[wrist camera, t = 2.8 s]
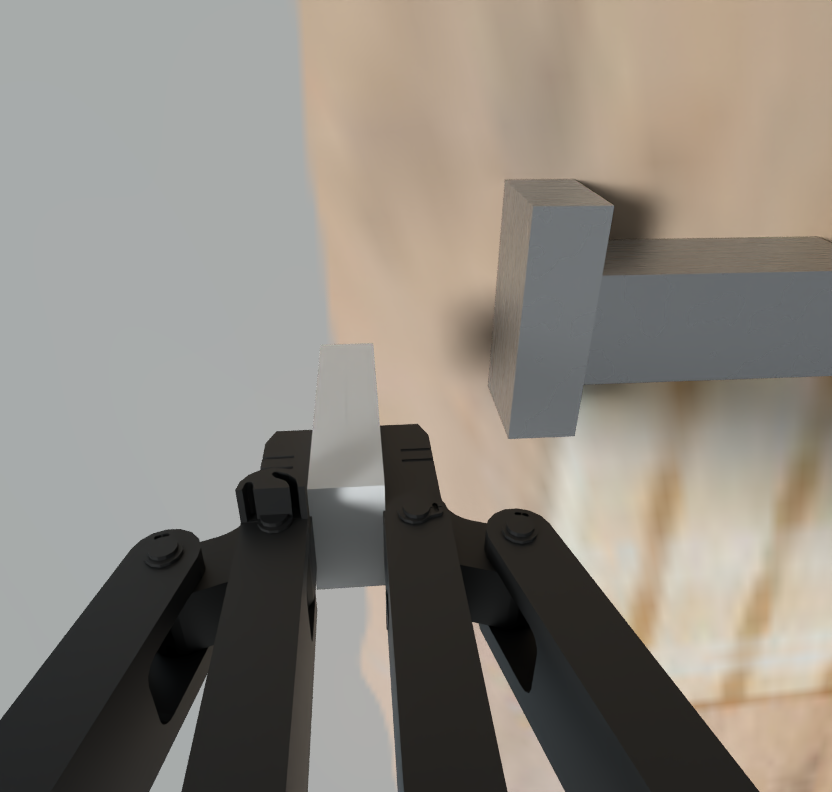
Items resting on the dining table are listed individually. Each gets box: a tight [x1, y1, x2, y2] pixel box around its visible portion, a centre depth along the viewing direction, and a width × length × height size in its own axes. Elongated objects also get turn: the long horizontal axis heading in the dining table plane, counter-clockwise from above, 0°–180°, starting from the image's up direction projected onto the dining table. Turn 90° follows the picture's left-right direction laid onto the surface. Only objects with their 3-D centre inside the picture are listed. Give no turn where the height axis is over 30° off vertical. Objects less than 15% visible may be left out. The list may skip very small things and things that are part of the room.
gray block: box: [488, 179, 832, 439], centre depth 23 cm, size 8×12×4 cm
